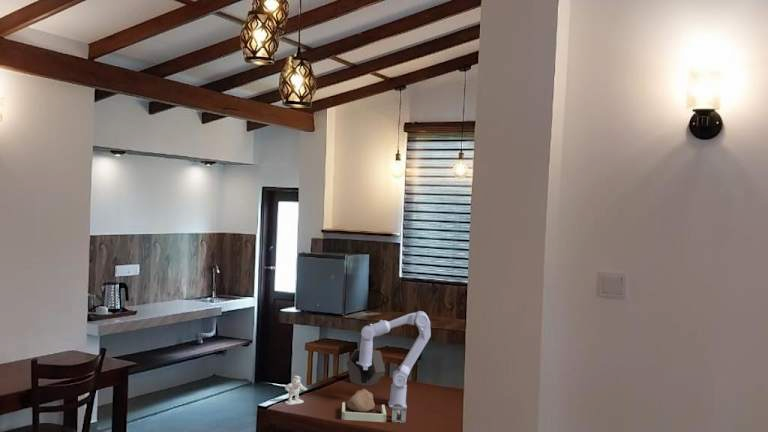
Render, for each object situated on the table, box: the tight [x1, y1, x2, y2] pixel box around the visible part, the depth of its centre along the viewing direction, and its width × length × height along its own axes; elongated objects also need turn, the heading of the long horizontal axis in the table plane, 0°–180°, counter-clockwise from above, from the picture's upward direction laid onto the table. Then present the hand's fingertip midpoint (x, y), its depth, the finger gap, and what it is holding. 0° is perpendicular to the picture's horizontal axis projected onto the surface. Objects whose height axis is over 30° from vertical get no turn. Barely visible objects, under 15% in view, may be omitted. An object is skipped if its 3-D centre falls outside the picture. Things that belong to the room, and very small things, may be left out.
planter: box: [346, 348, 386, 388], centre depth 355 cm, size 17×8×21 cm
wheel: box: [391, 404, 403, 419], centre depth 295 cm, size 6×5×5 cm
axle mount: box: [391, 406, 407, 424], centre depth 290 cm, size 2×6×6 cm, turn 93°
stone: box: [347, 388, 376, 413], centre depth 306 cm, size 12×9×10 cm
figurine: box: [284, 375, 308, 406], centre depth 308 cm, size 9×7×12 cm
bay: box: [341, 401, 387, 423], centre depth 296 cm, size 16×18×3 cm
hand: (363, 382), depth 316 cm, fingers closed
